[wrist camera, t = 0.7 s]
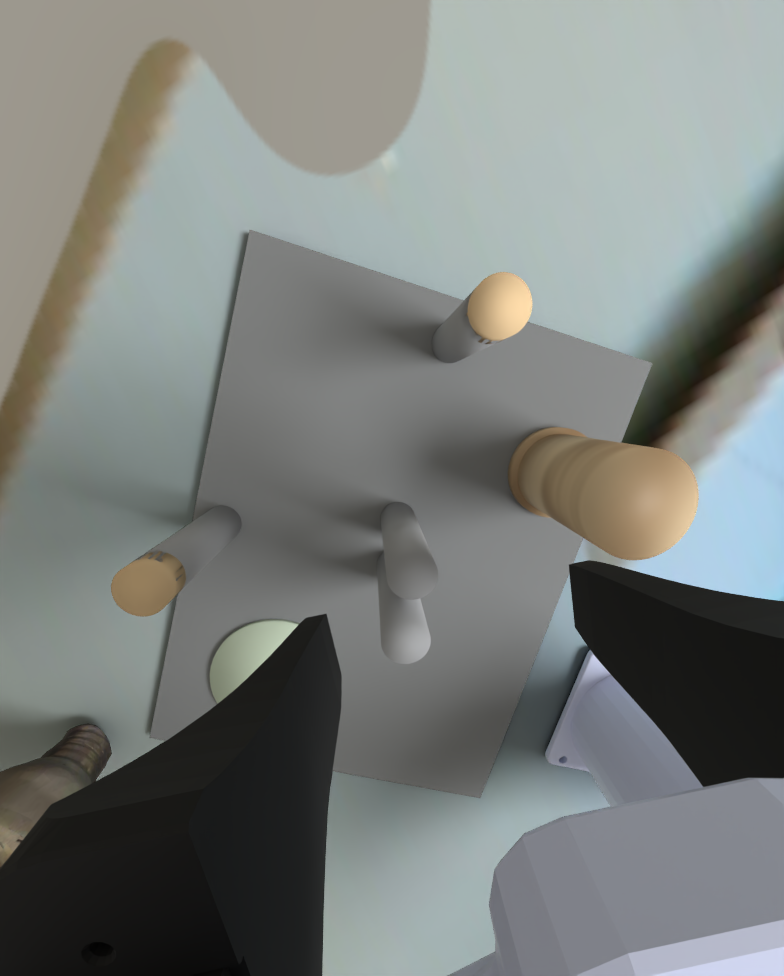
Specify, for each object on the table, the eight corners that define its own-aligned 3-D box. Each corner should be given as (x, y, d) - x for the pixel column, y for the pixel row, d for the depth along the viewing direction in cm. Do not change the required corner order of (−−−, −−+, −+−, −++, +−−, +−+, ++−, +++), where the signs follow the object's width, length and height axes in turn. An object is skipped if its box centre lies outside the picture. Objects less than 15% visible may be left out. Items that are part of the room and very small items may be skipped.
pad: (353, 634, 22) (353, 637, 22) (322, 739, 23) (322, 744, 23) (225, 605, 21) (223, 608, 21) (200, 716, 22) (198, 720, 22)
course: (646, 363, 20) (820, 339, 12) (478, 791, 25) (527, 964, 17) (252, 233, 18) (164, 103, 10) (153, 731, 23) (43, 899, 15)
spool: (607, 441, 20) (728, 459, 14) (575, 523, 21) (673, 581, 14) (525, 415, 20) (608, 422, 13) (495, 501, 21) (558, 550, 14)
